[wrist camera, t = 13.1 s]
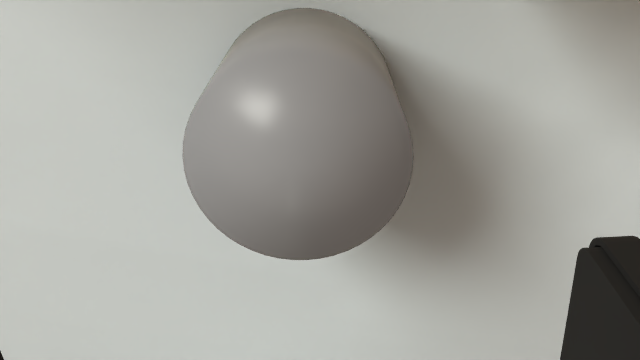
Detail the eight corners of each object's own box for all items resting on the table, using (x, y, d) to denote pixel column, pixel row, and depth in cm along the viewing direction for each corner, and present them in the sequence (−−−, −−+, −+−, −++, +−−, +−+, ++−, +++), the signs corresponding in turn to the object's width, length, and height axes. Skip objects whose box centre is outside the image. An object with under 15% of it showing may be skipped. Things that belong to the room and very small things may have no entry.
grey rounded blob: (392, 170, 23) (412, 254, 18) (230, 178, 23) (201, 265, 18) (390, 1, 20) (413, 41, 15) (206, 14, 20) (163, 57, 15)
